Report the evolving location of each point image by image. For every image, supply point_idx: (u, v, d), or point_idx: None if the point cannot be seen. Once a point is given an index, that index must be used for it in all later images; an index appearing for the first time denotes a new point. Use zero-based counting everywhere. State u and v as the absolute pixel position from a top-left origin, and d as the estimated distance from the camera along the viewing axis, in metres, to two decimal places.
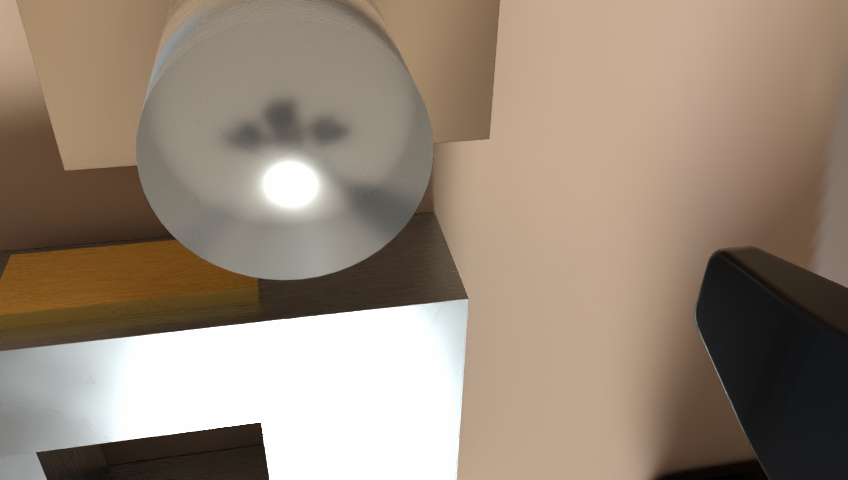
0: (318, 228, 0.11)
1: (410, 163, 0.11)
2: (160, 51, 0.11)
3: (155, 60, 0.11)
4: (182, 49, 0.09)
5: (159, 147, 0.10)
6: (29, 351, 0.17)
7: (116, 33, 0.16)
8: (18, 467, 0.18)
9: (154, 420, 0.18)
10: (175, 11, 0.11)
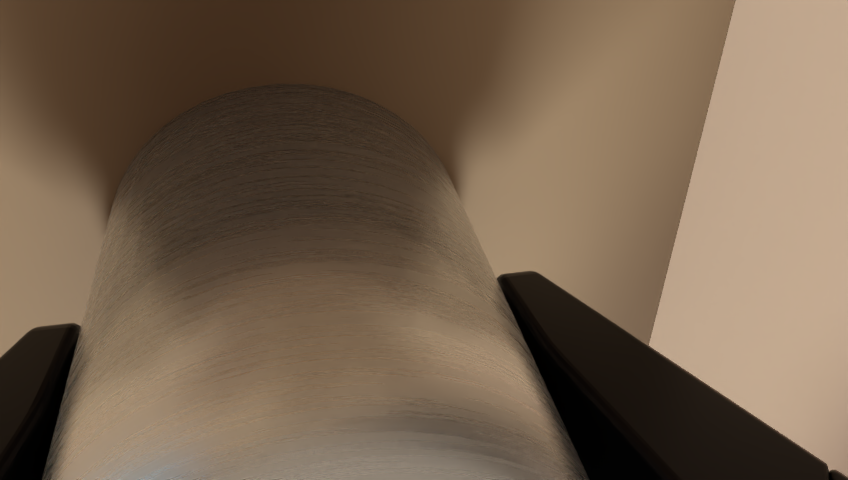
0: None
1: None
2: None
3: None
4: None
5: None
6: None
7: (4, 302, 0.08)
8: None
9: None
10: None
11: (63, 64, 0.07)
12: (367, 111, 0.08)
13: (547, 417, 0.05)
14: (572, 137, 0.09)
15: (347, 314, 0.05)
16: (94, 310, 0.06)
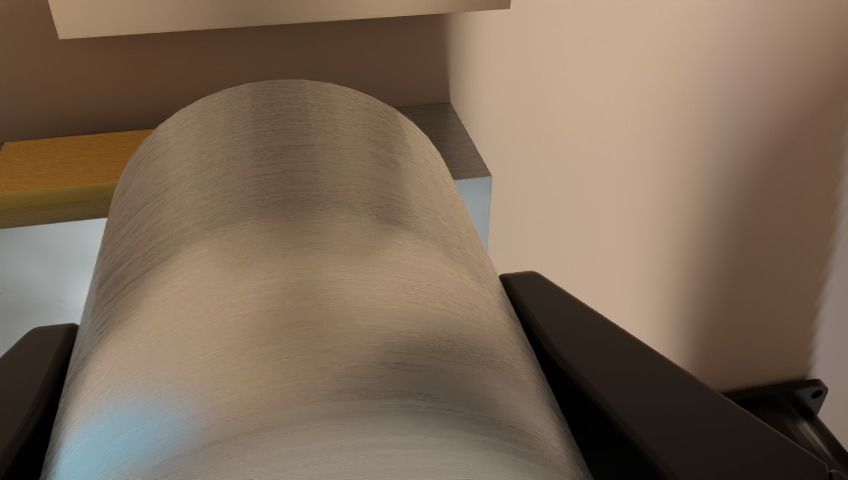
0: None
1: None
2: None
3: None
4: None
5: None
6: (27, 230, 0.16)
7: None
8: None
9: None
10: None
11: None
12: (366, 107, 0.08)
13: (549, 412, 0.05)
14: None
15: (349, 309, 0.05)
16: (93, 305, 0.06)
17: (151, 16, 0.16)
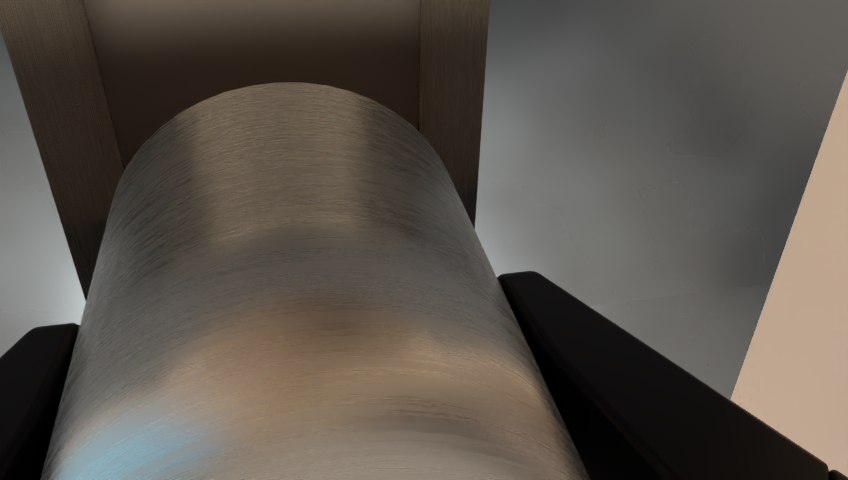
0: None
1: None
2: None
3: None
4: None
5: None
6: None
7: None
8: None
9: None
10: None
11: None
12: (365, 110, 0.08)
13: (548, 416, 0.05)
14: None
15: (347, 314, 0.05)
16: (93, 309, 0.06)
17: None
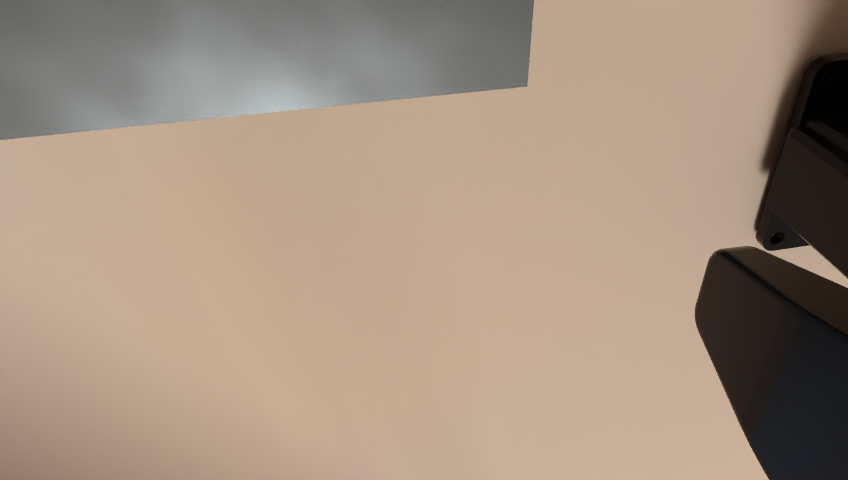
0: None
1: None
2: None
3: None
4: None
5: None
6: None
7: None
8: None
9: None
10: None
11: None
12: None
13: None
14: None
15: None
16: None
17: None
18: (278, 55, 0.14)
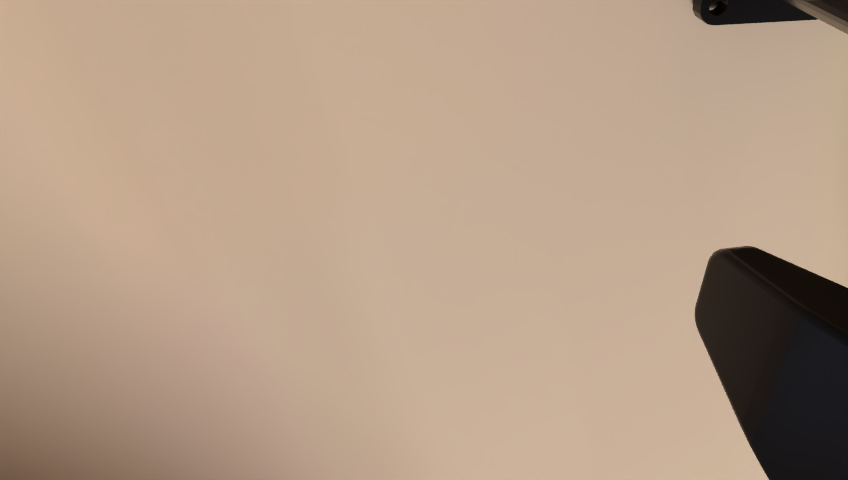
0: None
1: None
2: None
3: None
4: None
5: None
6: None
7: None
8: None
9: None
10: None
11: None
12: None
13: None
14: None
15: None
16: None
17: None
18: None
